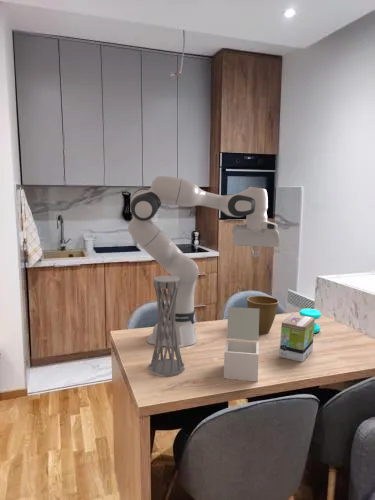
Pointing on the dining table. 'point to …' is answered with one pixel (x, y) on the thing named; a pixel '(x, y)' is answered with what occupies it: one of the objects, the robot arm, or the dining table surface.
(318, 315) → the cyan rounded piece
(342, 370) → the dining table surface
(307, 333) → the tea box
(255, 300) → the plant pot
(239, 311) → the lid flap
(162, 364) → the grey lattice tower
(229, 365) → the carton
